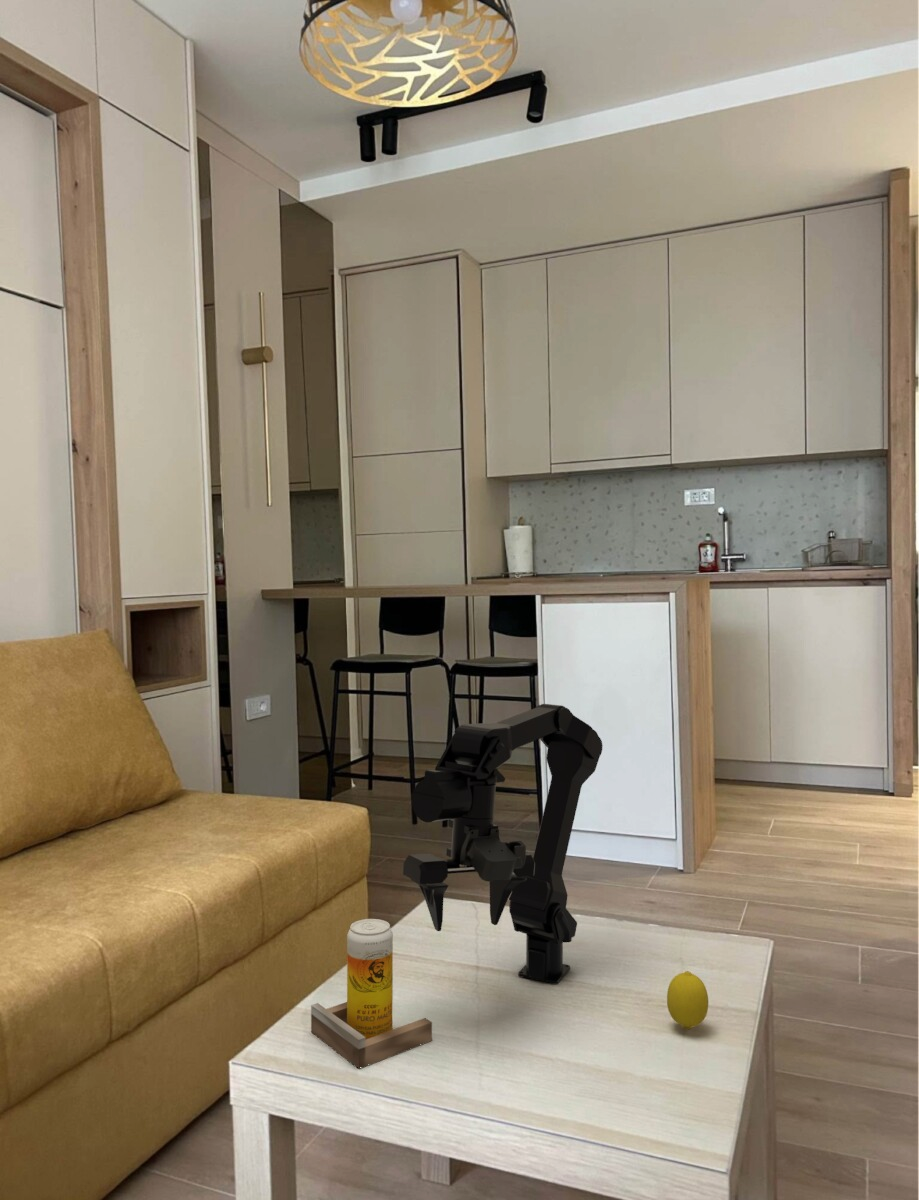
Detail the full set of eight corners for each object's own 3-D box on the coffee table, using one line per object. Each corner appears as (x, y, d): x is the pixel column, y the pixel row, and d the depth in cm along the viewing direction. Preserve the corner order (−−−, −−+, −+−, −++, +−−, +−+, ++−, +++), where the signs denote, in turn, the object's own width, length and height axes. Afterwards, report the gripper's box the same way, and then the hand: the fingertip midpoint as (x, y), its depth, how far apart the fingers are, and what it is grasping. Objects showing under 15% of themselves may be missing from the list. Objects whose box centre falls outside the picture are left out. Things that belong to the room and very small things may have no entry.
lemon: (661, 1020, 127) (661, 963, 127) (699, 1019, 127) (700, 962, 127) (674, 1040, 121) (674, 981, 121) (714, 1038, 122) (714, 979, 122)
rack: (381, 1007, 130) (381, 982, 130) (431, 1040, 121) (432, 1013, 121) (311, 1032, 123) (311, 1005, 123) (358, 1069, 114) (358, 1039, 114)
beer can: (358, 1052, 118) (358, 937, 118) (340, 1032, 123) (340, 922, 123) (400, 1040, 121) (400, 929, 121) (380, 1021, 126) (381, 914, 126)
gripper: (444, 829, 117) (435, 952, 116) (560, 824, 126) (554, 938, 125) (405, 813, 126) (397, 927, 125) (516, 809, 136) (509, 915, 135)
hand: (466, 927), depth 127 cm, fingers open, 9 cm apart
